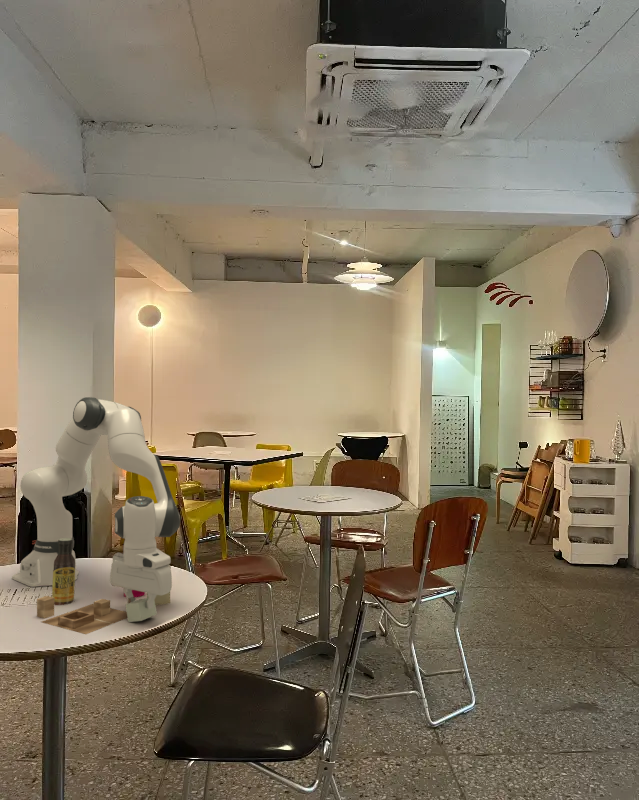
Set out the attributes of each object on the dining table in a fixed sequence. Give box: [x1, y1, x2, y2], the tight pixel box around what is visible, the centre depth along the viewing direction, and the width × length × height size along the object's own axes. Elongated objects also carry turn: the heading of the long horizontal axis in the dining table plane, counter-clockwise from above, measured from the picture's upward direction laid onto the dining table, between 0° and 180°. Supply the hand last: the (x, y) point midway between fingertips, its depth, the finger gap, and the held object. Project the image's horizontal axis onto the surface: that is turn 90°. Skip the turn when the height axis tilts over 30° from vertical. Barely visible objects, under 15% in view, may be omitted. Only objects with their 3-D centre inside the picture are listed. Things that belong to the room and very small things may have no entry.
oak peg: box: [36, 595, 55, 620], centre depth 186 cm, size 3×3×6 cm
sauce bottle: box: [51, 538, 76, 606], centre depth 199 cm, size 6×6×20 cm
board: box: [41, 598, 128, 635], centre depth 185 cm, size 18×18×4 cm
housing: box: [125, 597, 158, 623], centre depth 183 cm, size 5×6×5 cm
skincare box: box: [146, 564, 172, 606], centre depth 199 cm, size 6×4×12 cm
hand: (140, 605), depth 183 cm, fingers closed on housing, 5 cm apart
